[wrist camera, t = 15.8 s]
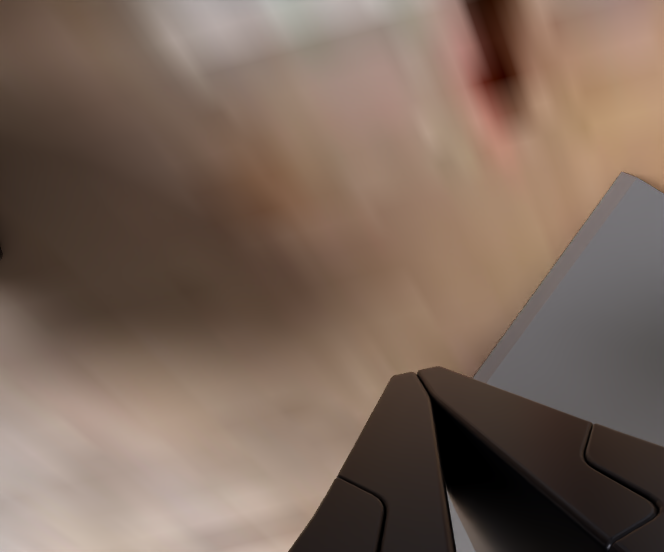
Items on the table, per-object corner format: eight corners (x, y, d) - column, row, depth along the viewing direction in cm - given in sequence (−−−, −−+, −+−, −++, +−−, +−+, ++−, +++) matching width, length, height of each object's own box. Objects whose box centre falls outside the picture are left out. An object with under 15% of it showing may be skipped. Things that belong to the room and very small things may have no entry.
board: (525, 694, 33) (533, 714, 32) (292, 628, 29) (291, 649, 28) (888, 333, 24) (914, 346, 23) (621, 171, 20) (639, 178, 19)
